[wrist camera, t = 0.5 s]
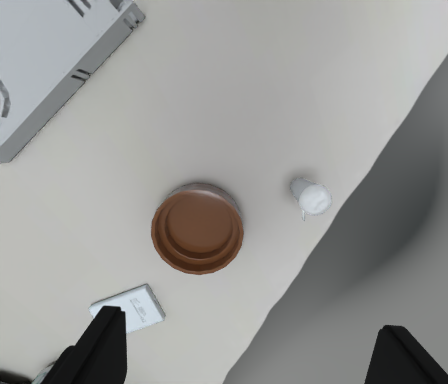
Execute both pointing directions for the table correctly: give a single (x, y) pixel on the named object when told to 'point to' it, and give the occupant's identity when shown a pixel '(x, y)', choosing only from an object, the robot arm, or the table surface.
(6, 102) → the power supply unit
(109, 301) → the hard drive
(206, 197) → the bowl
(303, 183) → the milkshake
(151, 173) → the table surface
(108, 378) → the robot arm
